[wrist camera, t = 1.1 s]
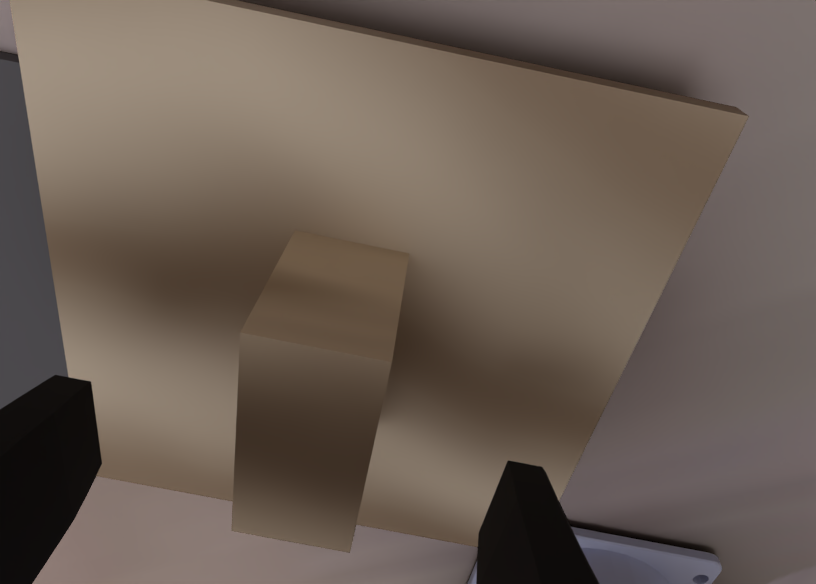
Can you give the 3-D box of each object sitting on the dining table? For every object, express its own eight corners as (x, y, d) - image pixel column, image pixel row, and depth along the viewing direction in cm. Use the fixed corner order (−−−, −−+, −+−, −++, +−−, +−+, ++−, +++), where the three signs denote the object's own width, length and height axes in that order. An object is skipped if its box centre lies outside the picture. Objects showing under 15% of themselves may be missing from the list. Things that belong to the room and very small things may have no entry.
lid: (529, 539, 18) (545, 692, 14) (94, 457, 17) (1, 595, 14) (735, 107, 11) (865, 197, 7) (25, -45, 11) (-197, -27, 7)
